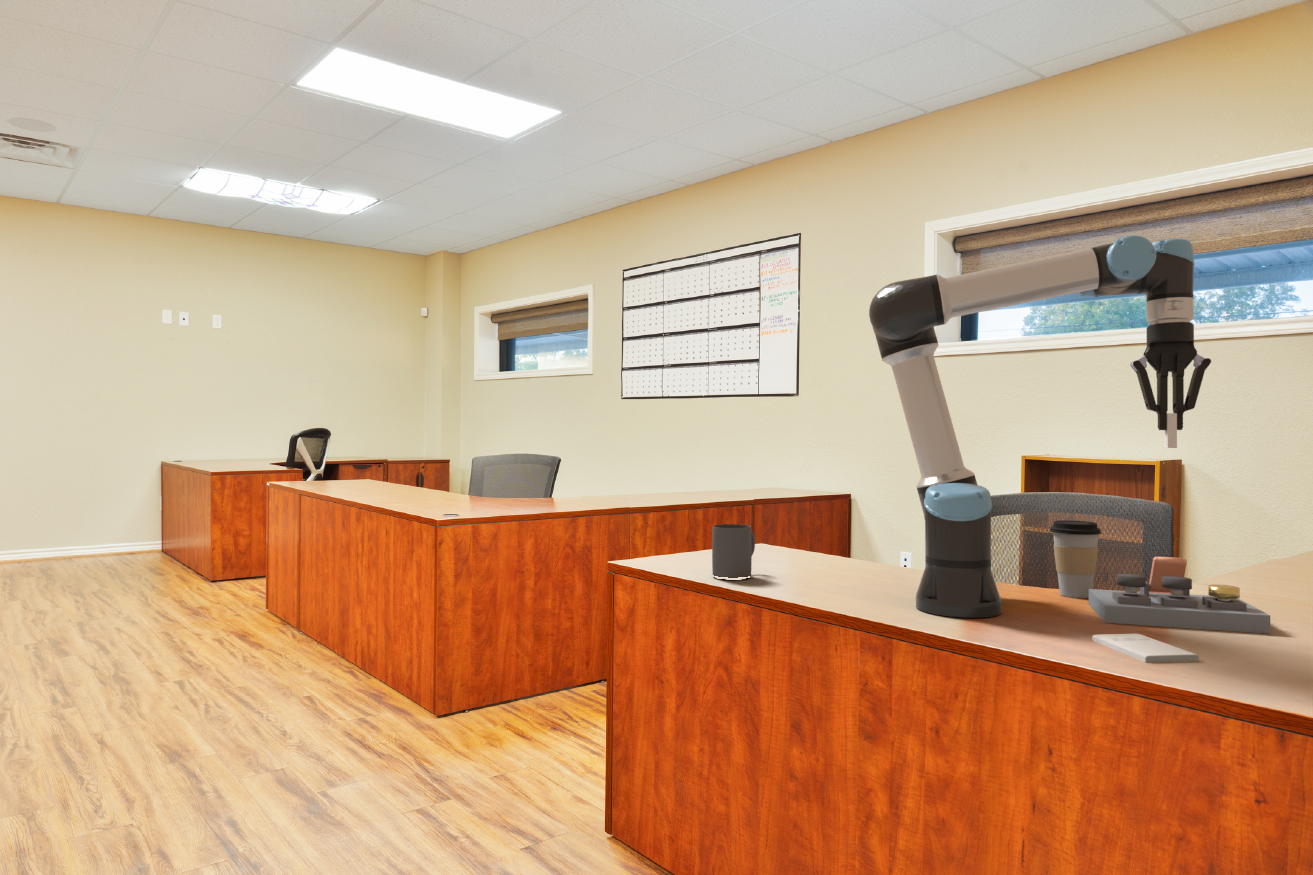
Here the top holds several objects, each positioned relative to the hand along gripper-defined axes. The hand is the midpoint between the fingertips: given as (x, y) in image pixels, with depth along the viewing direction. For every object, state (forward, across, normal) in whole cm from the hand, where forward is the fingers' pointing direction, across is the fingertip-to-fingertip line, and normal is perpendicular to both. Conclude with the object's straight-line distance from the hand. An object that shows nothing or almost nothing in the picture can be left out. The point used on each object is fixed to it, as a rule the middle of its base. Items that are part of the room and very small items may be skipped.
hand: (1170, 447), depth 149 cm
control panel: (+30, -2, -9) cm, 32 cm away
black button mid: (+26, -2, -12) cm, 28 cm away
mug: (+31, -86, +8) cm, 92 cm away
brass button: (+27, +5, -12) cm, 30 cm away
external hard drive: (+31, -12, -35) cm, 48 cm away
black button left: (+26, -9, -12) cm, 30 cm away
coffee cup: (+31, -15, +8) cm, 35 cm away
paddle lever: (+26, -2, -4) cm, 27 cm away
